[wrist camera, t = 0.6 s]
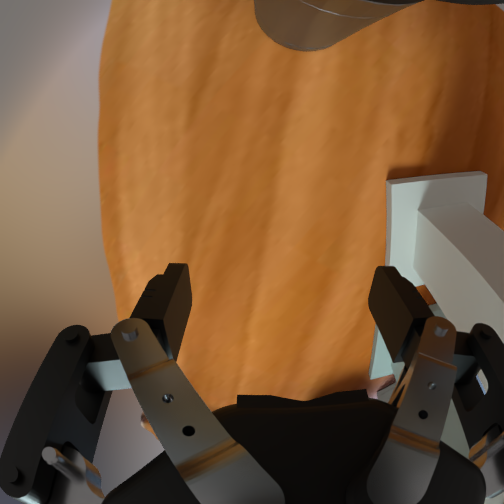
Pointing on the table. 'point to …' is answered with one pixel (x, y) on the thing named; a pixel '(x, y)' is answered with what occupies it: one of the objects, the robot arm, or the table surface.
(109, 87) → the table surface
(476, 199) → the tall pedestal
